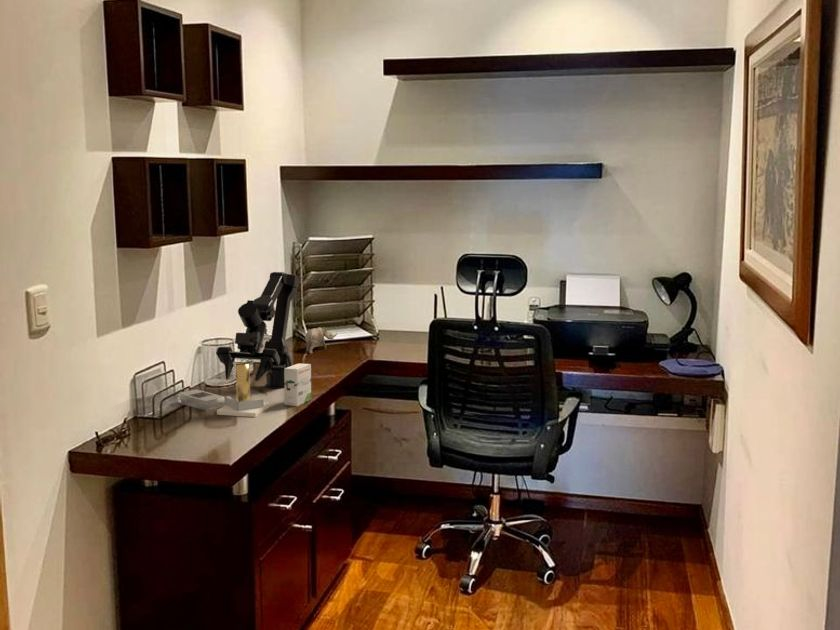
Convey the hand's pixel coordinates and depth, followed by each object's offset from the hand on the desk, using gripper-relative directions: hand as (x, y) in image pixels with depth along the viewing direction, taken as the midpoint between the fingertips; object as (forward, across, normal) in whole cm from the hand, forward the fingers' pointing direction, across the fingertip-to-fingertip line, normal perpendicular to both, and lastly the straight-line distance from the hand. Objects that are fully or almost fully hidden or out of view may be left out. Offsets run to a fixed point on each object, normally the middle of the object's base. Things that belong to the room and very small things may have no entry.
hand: (241, 379), depth 250 cm
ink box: (-3, +13, +17) cm, 21 cm away
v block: (+6, 0, +8) cm, 10 cm away
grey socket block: (+4, -15, +10) cm, 19 cm away
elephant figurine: (-60, -4, +75) cm, 96 cm away
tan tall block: (+5, 0, +7) cm, 9 cm away
